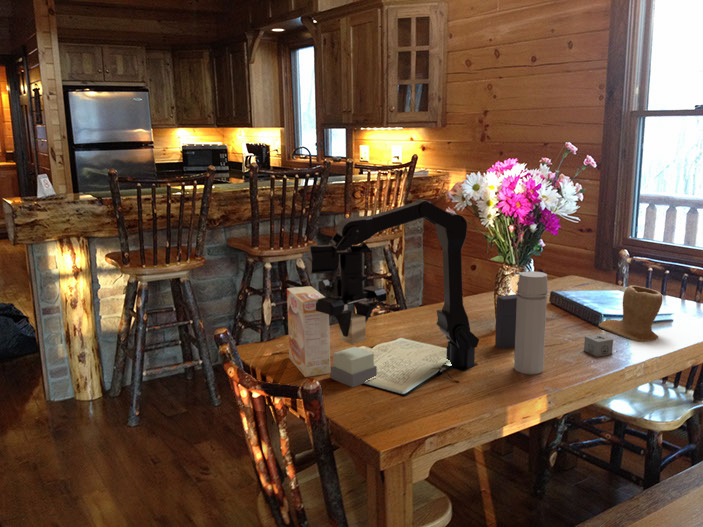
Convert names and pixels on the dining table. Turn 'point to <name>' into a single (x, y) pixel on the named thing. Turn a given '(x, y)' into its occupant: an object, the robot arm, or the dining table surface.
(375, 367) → the tower base
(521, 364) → the water bottle
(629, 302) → the brown hollow flared piece
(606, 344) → the grey cube
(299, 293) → the coffeecake box
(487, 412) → the dining table surface
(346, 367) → the tower top
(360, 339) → the wood block
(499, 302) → the dark upright pillar
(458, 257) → the robot arm
